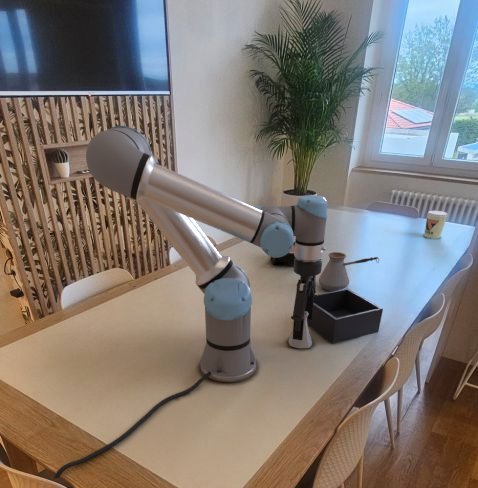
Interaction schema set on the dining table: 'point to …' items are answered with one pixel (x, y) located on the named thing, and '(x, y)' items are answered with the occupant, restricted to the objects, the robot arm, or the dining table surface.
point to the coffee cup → (435, 224)
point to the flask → (306, 340)
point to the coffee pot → (337, 272)
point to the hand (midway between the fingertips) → (302, 328)
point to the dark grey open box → (344, 315)
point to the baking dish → (286, 257)
